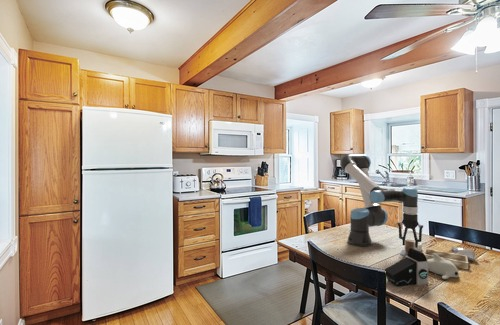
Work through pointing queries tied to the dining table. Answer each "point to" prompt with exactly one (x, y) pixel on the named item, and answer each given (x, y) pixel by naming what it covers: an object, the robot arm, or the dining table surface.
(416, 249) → the ramekin
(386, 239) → the dining table surface
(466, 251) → the lying tin can
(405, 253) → the slate coaster
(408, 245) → the walnut block
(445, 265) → the toy
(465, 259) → the birch crate
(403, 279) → the decorative object
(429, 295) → the dining table surface
